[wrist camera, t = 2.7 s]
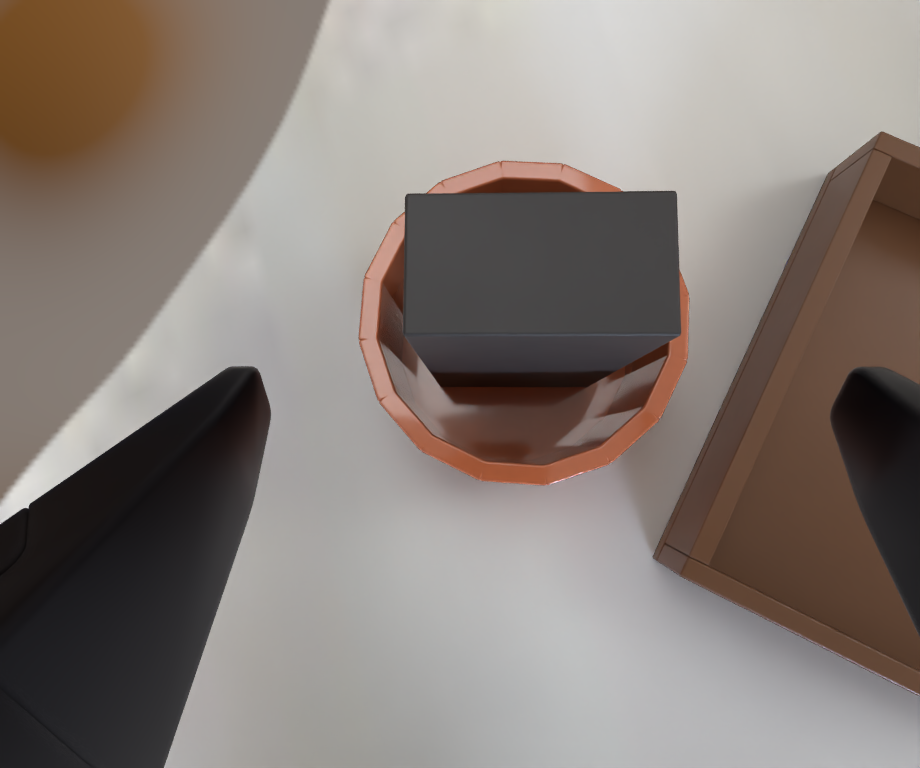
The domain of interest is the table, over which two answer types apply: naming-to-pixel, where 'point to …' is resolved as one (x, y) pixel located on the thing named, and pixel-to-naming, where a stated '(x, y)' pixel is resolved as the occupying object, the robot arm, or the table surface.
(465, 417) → the holder cup
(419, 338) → the dark grey block
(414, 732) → the table surface
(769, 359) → the tray
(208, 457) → the robot arm
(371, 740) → the table surface
